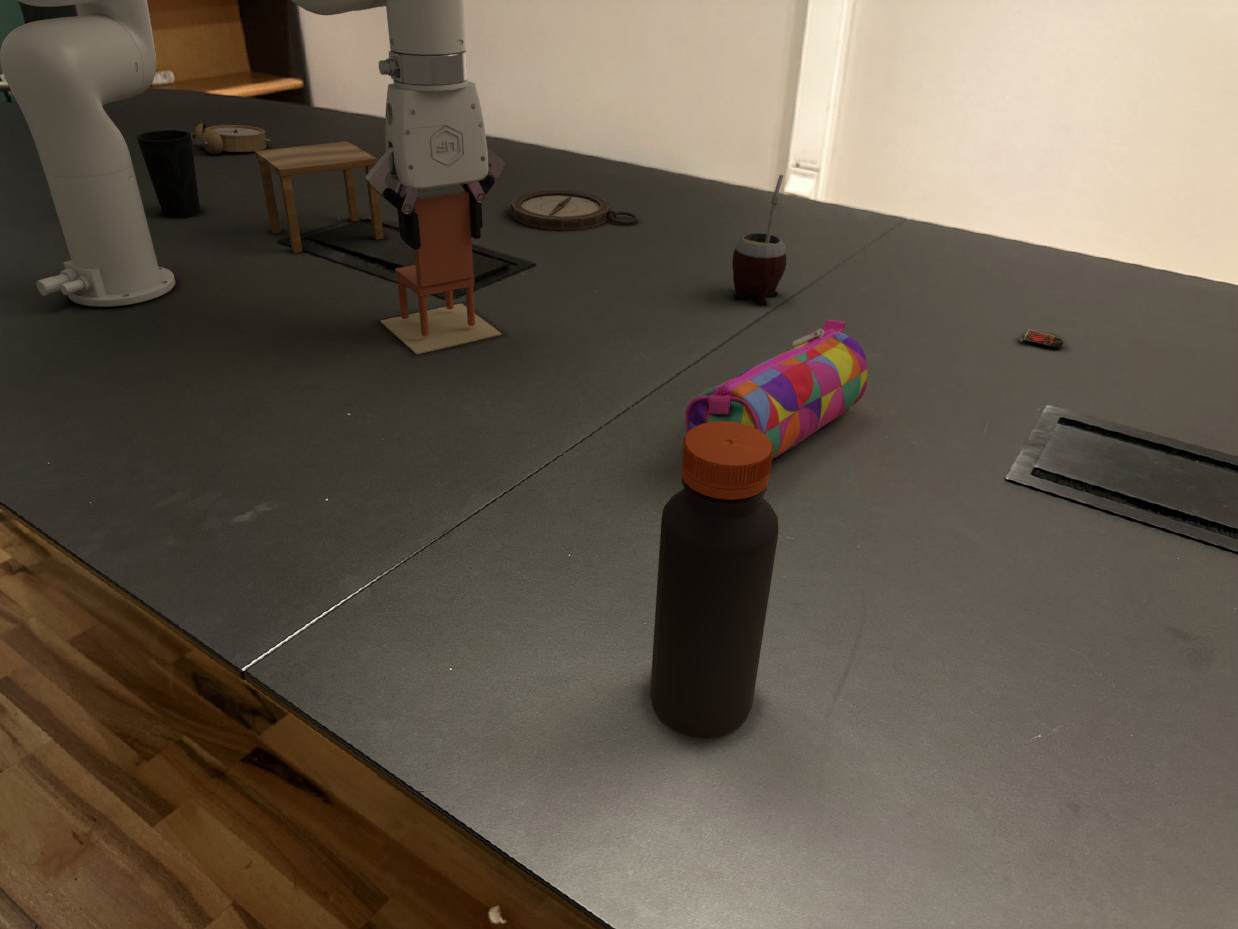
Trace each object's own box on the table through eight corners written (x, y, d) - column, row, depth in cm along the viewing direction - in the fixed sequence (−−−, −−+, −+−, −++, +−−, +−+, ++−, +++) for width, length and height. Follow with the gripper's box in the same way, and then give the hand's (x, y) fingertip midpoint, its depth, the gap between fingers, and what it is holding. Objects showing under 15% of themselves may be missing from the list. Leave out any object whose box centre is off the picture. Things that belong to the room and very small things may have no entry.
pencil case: (789, 384, 100) (800, 307, 95) (867, 411, 95) (883, 332, 90) (674, 461, 85) (680, 376, 80) (759, 499, 80) (771, 410, 75)
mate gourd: (740, 308, 118) (753, 193, 110) (719, 286, 124) (729, 176, 116) (792, 304, 120) (808, 190, 112) (769, 283, 126) (782, 174, 118)
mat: (501, 334, 108) (501, 333, 108) (416, 354, 103) (416, 353, 103) (461, 304, 116) (461, 303, 116) (380, 321, 111) (380, 320, 111)
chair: (478, 326, 109) (470, 192, 100) (424, 338, 105) (411, 201, 97) (451, 306, 114) (442, 177, 105) (399, 317, 110) (385, 184, 102)
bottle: (743, 663, 63) (778, 412, 52) (759, 740, 57) (802, 476, 46) (646, 664, 62) (661, 411, 52) (652, 741, 57) (671, 475, 46)
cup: (215, 207, 148) (199, 131, 142) (192, 220, 142) (174, 142, 135) (171, 204, 149) (153, 128, 142) (145, 218, 142) (126, 139, 136)
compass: (489, 212, 150) (488, 200, 149) (560, 195, 160) (560, 183, 159) (573, 242, 138) (573, 229, 137) (644, 221, 148) (645, 209, 147)
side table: (385, 238, 137) (376, 158, 131) (293, 253, 130) (279, 169, 124) (357, 218, 145) (347, 141, 139) (269, 231, 139) (254, 150, 132)
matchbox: (1065, 350, 109) (1066, 346, 109) (1021, 344, 110) (1022, 341, 110) (1060, 335, 113) (1061, 332, 113) (1017, 330, 114) (1018, 326, 114)
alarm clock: (274, 135, 180) (195, 128, 171) (274, 160, 182) (195, 155, 173) (255, 124, 187) (178, 118, 178) (256, 149, 189) (179, 143, 180)
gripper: (361, 81, 85) (382, 263, 95) (522, 69, 94) (526, 238, 103) (334, 69, 90) (356, 243, 100) (488, 59, 99) (495, 220, 108)
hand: (442, 239), depth 101 cm, fingers closed on chair, 6 cm apart
